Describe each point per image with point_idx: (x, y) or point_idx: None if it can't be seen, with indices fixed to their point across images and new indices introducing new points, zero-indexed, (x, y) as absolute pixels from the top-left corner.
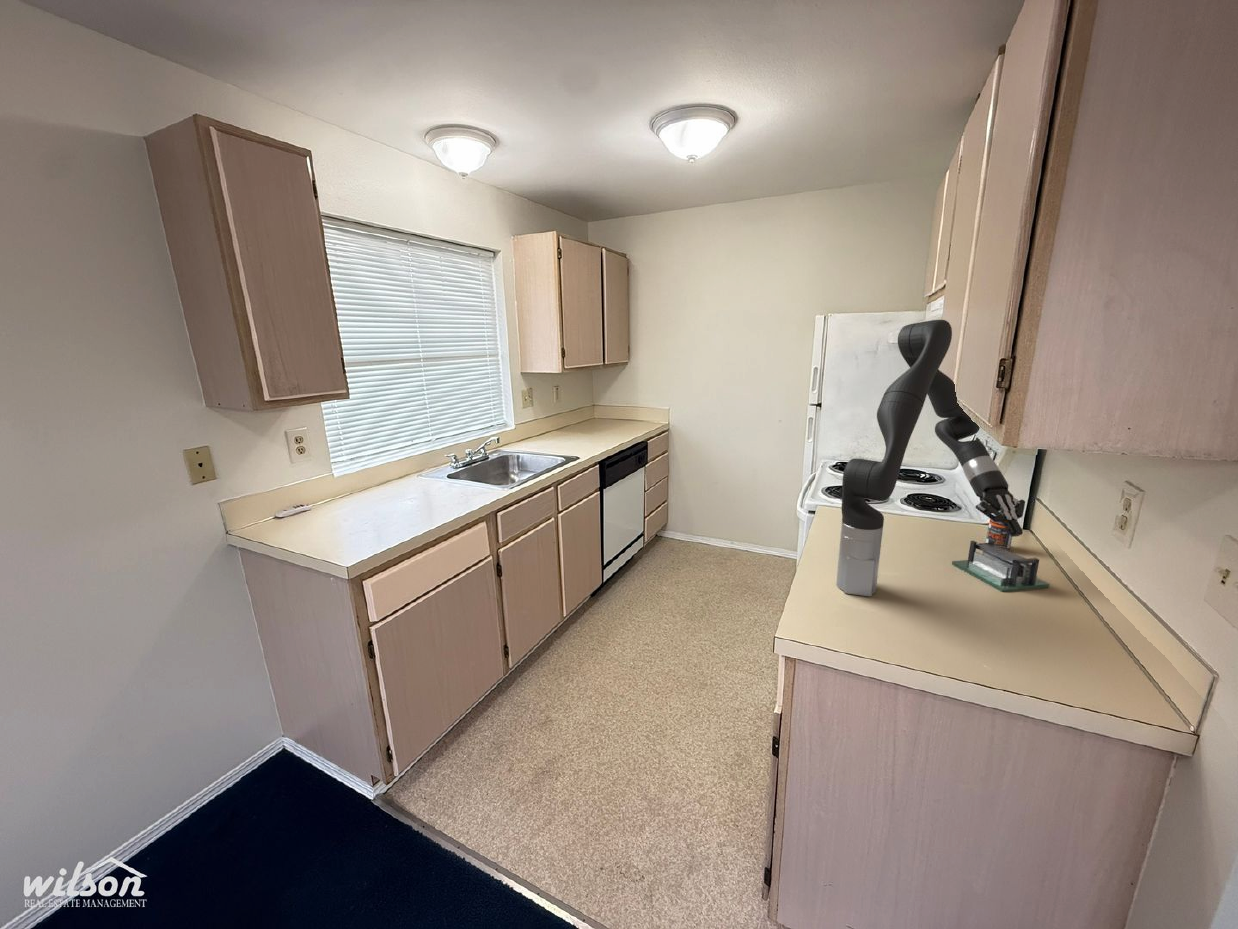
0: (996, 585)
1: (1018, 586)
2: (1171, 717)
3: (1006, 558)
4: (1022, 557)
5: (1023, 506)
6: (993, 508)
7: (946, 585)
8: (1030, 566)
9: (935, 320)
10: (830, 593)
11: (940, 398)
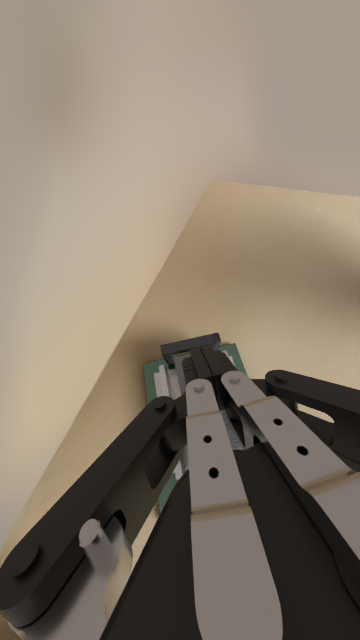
0: (238, 354)
1: None
2: (212, 185)
3: None
4: (180, 372)
5: (84, 479)
6: (356, 409)
7: (323, 363)
8: (165, 371)
9: None
10: None
11: None
